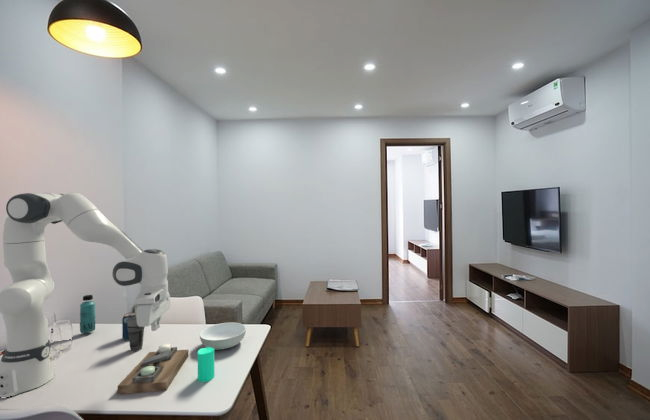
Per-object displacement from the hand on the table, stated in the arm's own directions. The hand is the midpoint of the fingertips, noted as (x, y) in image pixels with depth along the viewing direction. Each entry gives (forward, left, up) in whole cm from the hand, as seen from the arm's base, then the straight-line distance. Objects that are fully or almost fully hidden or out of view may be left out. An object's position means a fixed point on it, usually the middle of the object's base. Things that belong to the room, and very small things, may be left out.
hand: (155, 329), depth 112 cm
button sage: (-2, -2, -16) cm, 16 cm away
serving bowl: (+19, +28, -20) cm, 39 cm away
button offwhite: (-2, +14, -15) cm, 20 cm away
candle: (+18, 0, -20) cm, 27 cm away
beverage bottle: (-54, +52, -20) cm, 77 cm away
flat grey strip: (-2, +6, -14) cm, 16 cm away
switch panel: (-2, +6, -19) cm, 20 cm away
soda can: (-29, +43, -20) cm, 55 cm away
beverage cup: (-20, +29, -20) cm, 40 cm away
